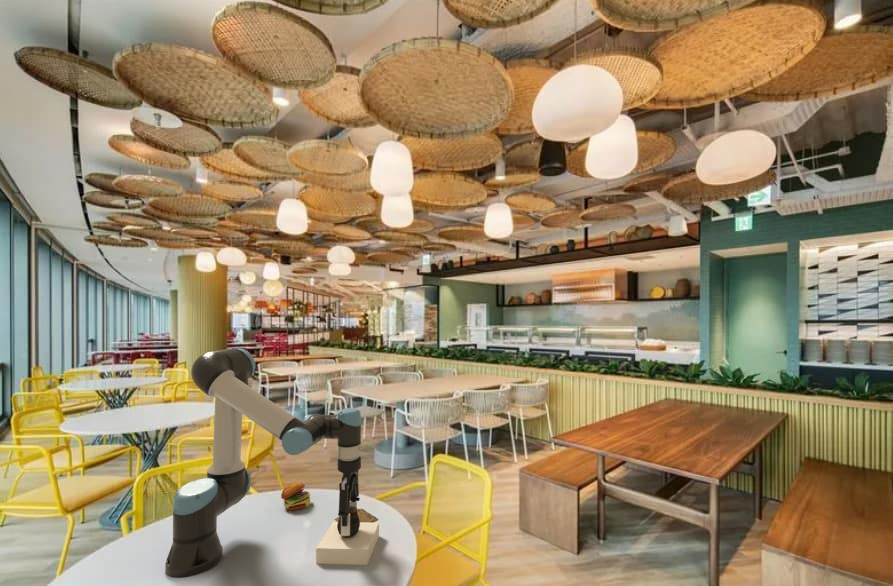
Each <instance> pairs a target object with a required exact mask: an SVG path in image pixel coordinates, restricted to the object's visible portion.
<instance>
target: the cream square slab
mask: <svg viewBox="0 0 893 586" xmlns="http://www.w3.org/2000/svg"><path fill="white" fill-rule="evenodd" d="M337 524H338V522H337V521H333V522H332V523H331V524H330V526H329V528H328V529H327V531H326V533H325V534H324V535H323V537H322V538H321V540H320V542H318V545H317V546H316V548H315V564H318V565H319V564H320V565H321V564H322V565H323V564H324V565H358V566H359V565H361V566H367V565H368V564H369V562H370V560H371V556H372V555H373V552H374V550H375V547H376V544H377V543H378V542H377V541H378V539H379V538H380V522H372V523H370V522H360V527H359V531H358V532H357V534H355V535H354V536H353V537H350V538H345V537H342V536H341V535H340V534H339V532H338V528H337Z"/></svg>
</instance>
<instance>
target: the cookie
mask: <svg viewBox="0 0 893 586" xmlns="http://www.w3.org/2000/svg"><path fill="white" fill-rule="evenodd" d="M357 513H358V517H359V521H360V522H370V523H375V522H376V521H379V518H378V517H376V516H375V515H373V514H372V513H370V512H368V511H366V510H365V509H364V508H357ZM339 518H340V516H338V517H336V518H334V521H335V522H338V520H339Z"/></svg>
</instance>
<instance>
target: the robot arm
mask: <svg viewBox="0 0 893 586" xmlns="http://www.w3.org/2000/svg"><path fill="white" fill-rule="evenodd" d="M255 371H256V360H255V358H254V356H253V355H252V354H251V353H250V352H249V351H248V350H246V349H244V348H240V347H239V348H226V349H225V348H224V349H220V350H212V351H207V352H205V353H202V354H201V355H199V356H198V357H197V358H196V359H195V361H194V362H193V364H192V366H191V379H192V381H193V383H194V384H195V385H196V387H197V388H198V389H199V390H200V391H201V392H203V393H204V394H205V395H207V396H208V397H210V398H214V418H213V419H214V422H213V444H212V445H213V446H212V447H213V448H212V450H213V451H212V464H211V465H210V466H209V467H208V468H207V471H206V477H204V478H198V479H196V480H193V481H189V482H187V483H185V484H184V485H183V486H181V487H179V488H178V489H177V491H176V492H175V494H174V496H173V497H174V499H173V504H172V513H173V514H172V544H171V546H170V549H169V552H168V554H167V555H168V556H167V557H166V560H165V567H164V568H165V569H164V570H165V571H164V572H165V574H166V575H167V576H168V577H170V578H174V579H183V578H189V577H194V576H197V575H200V574H202V573H204V572H206V571H209V570H210V569H212V568H214V567H215V566H217V564H218V563H220V561H221V560H222V558H223V545H222V543H221V540H220V538H219V534H218V531H217V528H218V527H217V524H218V519H217V518H218V517H219V516H220V515H221V514H222V513H224V512H225V511H227V510H229V509H230V508H231V507H233V506H234V505H236V504H238V503H240V501H242V499H243V498H245V497H246V496H247V494H248V493H249V491H250V490H251V486H252V476H251V475H252V474H251V473H250V472H248V471H249V470H248V469H247V467H246V463H245V462H244V461H242V457H241V456H242V436H243V434H242V433H243V432H242V431H243V416H244V417H246V418H248V419H249V420H250V421H252V422H253V423H255V424H256V425H258V426H260V427H261V428H262V429H263V430H265V431H267V432H268V433H269V434H271V435H272V436H275V438H277V439H278V440H280V441H281V446H282V448H283V450H284V452H285V453H286V454H288V455H290V456H297V455H299V454H302V453H305V452H306V451H308V450H309V449H310V448H311V447H312V446H314V445H316V444H317V443H318V442H320V441H321V440H323V439H330V440H335V439H336V440H337V449H336V451H337V453H336V455H337V470H338V472H339V473H342V476H341V482H339V484H338V486H339V487H338V488H339V492H338V493H339V494H338V495H339V497H338V498H339V500H338V513H337V516H338V517H340V516H341V536H350V514H349V507H350V506H354V507H356V508H357V509H358V502H360V499H361V498H360V497H359V495H360V491H359V489H360V488H359V470H360V469H361V468H362V458H361V455H362V450H363V447H362V446H361V445H362V416H361V410H359V409H358V408H356V407H355V408H353V407H348V408H347V407H346V408H345V407H344V408H341V409H339V410H338V411H337V414H319V413H314V414H306V415H305V416H304V417H303V419H302V420H300V419H299V418H297V417H296V416H294V415H292V414H291V413H289V411H286V410H285V409H283V408H282V407H281V406H279V405H277V404H276V403H275V402H273V401H271V399H269V398H267V397H266V396H264V395H263V394H261V393H260V392H259V391H257V390H255V389H254V388H252V387H251V386H249V379H250V378H251V377H252V376H253V375H254V373H255Z"/></svg>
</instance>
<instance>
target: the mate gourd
mask: <svg viewBox="0 0 893 586" xmlns="http://www.w3.org/2000/svg"><path fill="white" fill-rule="evenodd" d="M357 510H358V507H357V508H356V507H354V506H350V507H349V514H350V536H342V537H345V538H350V537H353V536H354V535H355V534H357V532H358V531H359V527H360V521H359V517H358V513H357ZM339 517H340V518H339V520H338V524H337V528H338V532H339V534H340V535H341V516H339Z"/></svg>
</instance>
